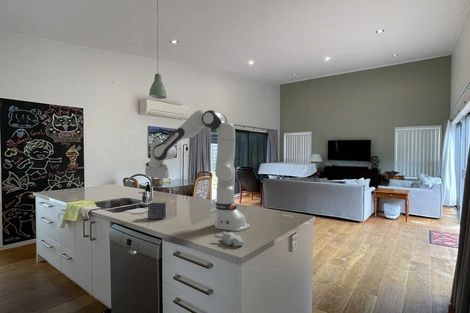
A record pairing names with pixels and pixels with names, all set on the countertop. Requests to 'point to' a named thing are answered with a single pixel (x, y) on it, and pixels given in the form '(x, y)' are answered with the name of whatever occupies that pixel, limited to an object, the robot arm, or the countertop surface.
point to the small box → (157, 211)
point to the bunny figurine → (230, 239)
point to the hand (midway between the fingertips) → (156, 184)
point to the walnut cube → (156, 183)
